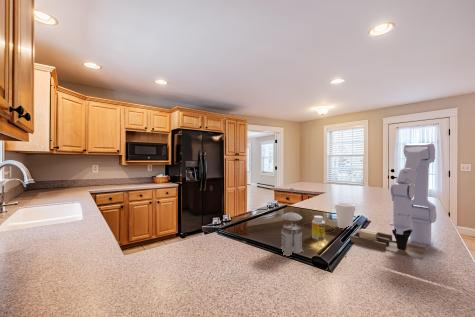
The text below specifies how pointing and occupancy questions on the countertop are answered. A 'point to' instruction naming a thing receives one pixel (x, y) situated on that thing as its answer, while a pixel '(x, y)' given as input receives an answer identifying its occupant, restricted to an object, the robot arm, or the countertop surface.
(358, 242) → the lane shelf
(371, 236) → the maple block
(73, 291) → the countertop surface
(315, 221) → the supplement bottle
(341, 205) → the foam cup
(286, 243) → the french press
